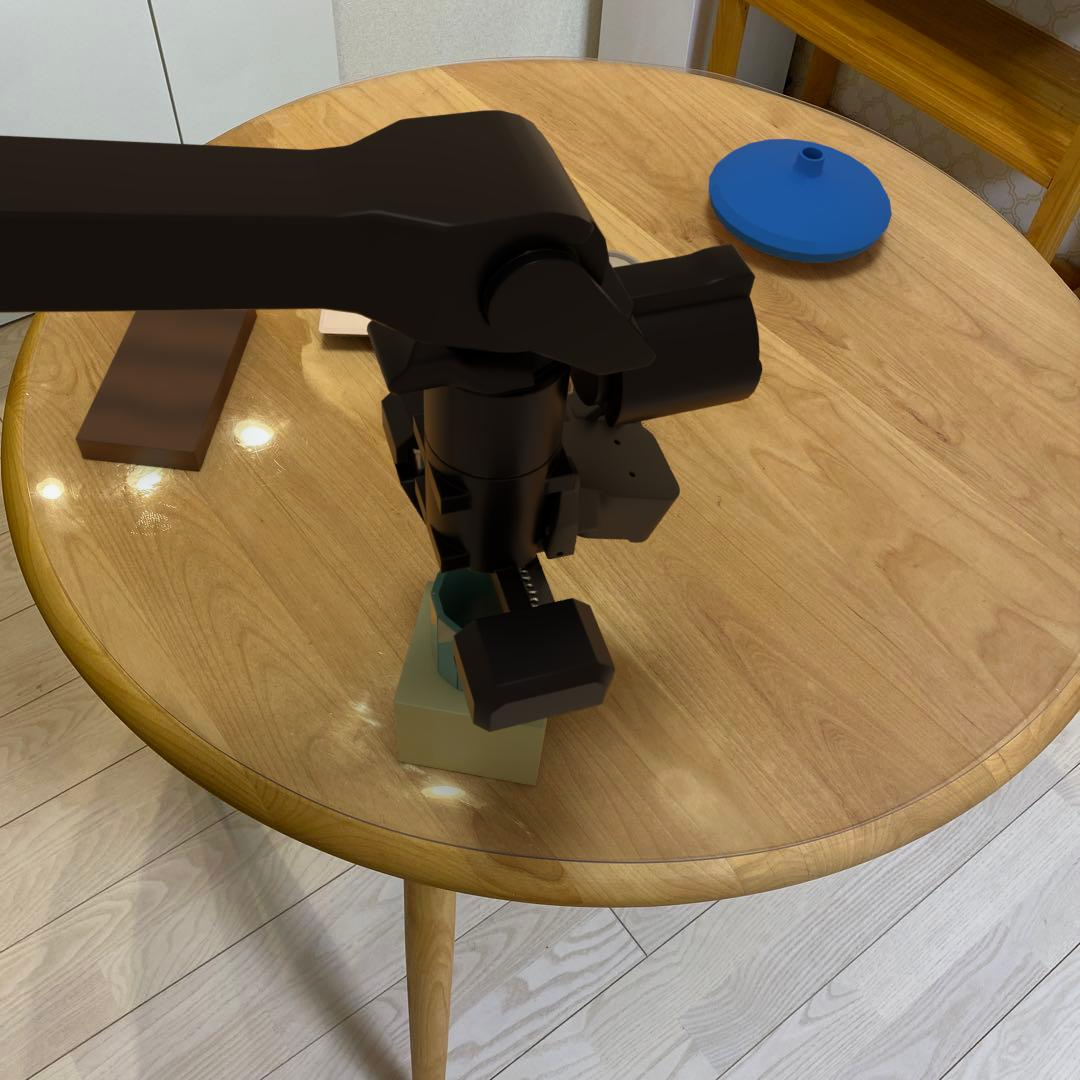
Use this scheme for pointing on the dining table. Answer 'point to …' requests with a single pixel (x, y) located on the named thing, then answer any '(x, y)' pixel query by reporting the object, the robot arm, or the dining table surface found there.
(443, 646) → the cup
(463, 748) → the stand
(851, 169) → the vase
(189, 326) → the block
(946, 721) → the dining table surface
